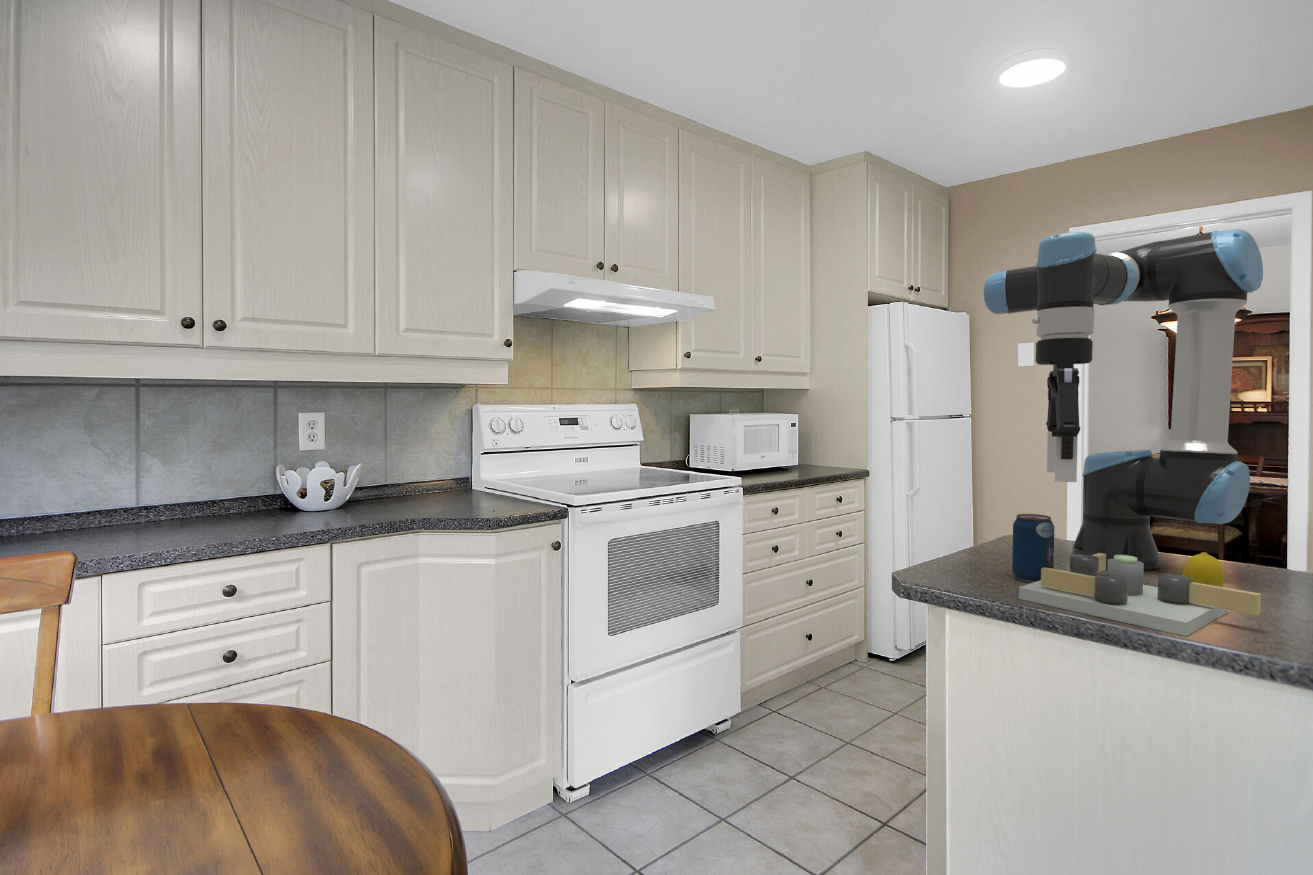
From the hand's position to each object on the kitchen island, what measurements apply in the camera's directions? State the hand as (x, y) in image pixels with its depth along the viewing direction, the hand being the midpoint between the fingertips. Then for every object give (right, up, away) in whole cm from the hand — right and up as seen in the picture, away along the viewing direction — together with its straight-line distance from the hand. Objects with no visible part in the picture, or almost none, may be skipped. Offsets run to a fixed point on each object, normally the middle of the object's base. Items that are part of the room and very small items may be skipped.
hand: (1060, 477), depth 109 cm
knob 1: (+16, -19, +19) cm, 31 cm away
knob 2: (+22, -20, 0) cm, 30 cm away
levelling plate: (+14, -22, +8) cm, 27 cm away
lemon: (+30, -22, +11) cm, 39 cm away
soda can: (+9, -21, +25) cm, 34 cm away
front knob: (+7, -20, +7) cm, 22 cm away
